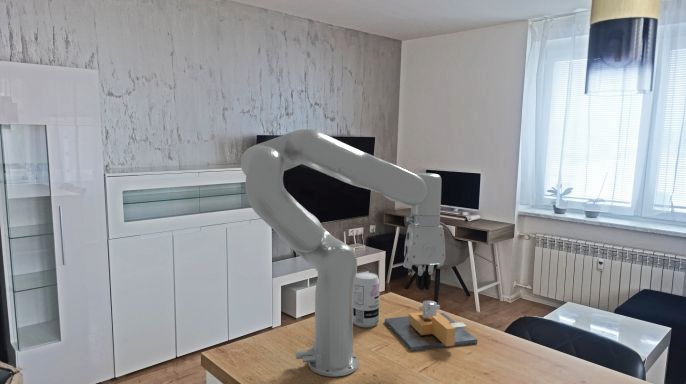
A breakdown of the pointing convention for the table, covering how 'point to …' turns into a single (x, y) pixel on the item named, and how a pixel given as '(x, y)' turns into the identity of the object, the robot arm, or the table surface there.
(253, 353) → the table surface
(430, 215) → the robot arm
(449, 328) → the tan wooden bracket
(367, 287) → the supplement can
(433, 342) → the base plate
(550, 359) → the table surface
